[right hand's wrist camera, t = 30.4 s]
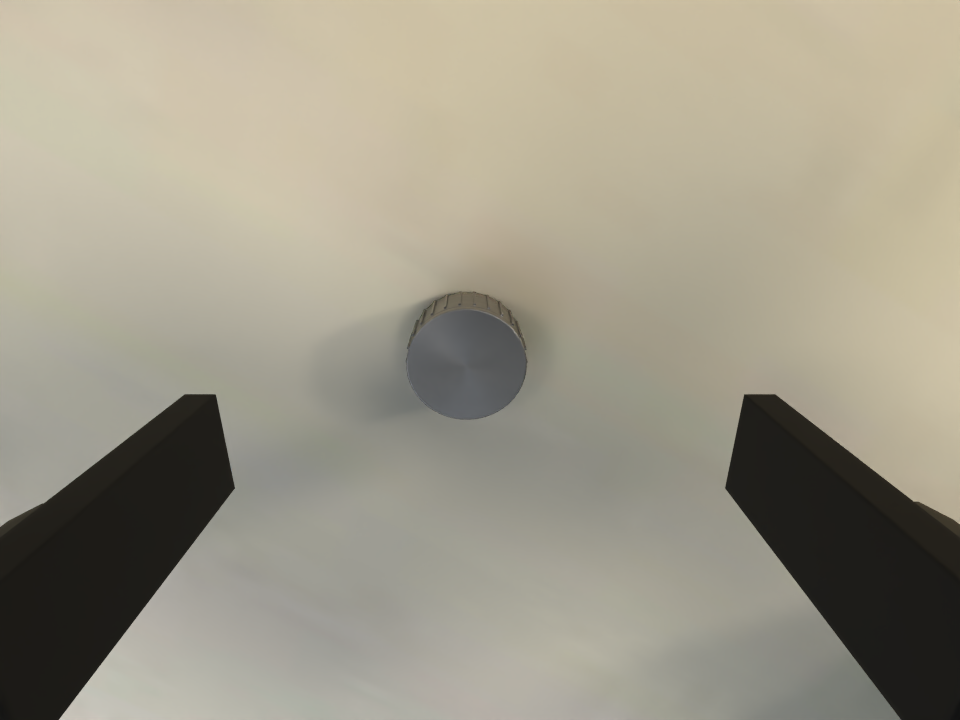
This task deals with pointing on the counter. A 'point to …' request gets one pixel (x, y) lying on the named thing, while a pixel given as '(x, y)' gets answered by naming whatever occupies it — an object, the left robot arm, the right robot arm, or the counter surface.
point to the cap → (466, 356)
